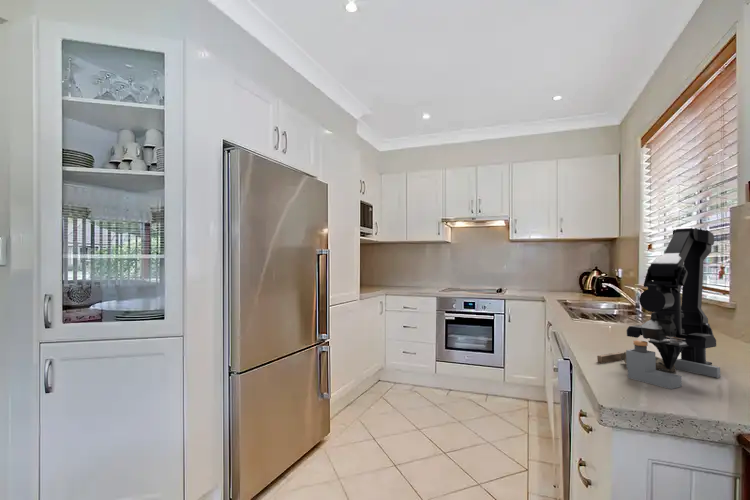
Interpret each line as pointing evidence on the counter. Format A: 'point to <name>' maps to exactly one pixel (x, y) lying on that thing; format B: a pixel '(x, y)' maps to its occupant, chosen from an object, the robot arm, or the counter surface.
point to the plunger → (640, 346)
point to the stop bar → (609, 357)
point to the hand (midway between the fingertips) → (669, 368)
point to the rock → (659, 363)
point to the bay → (645, 371)
